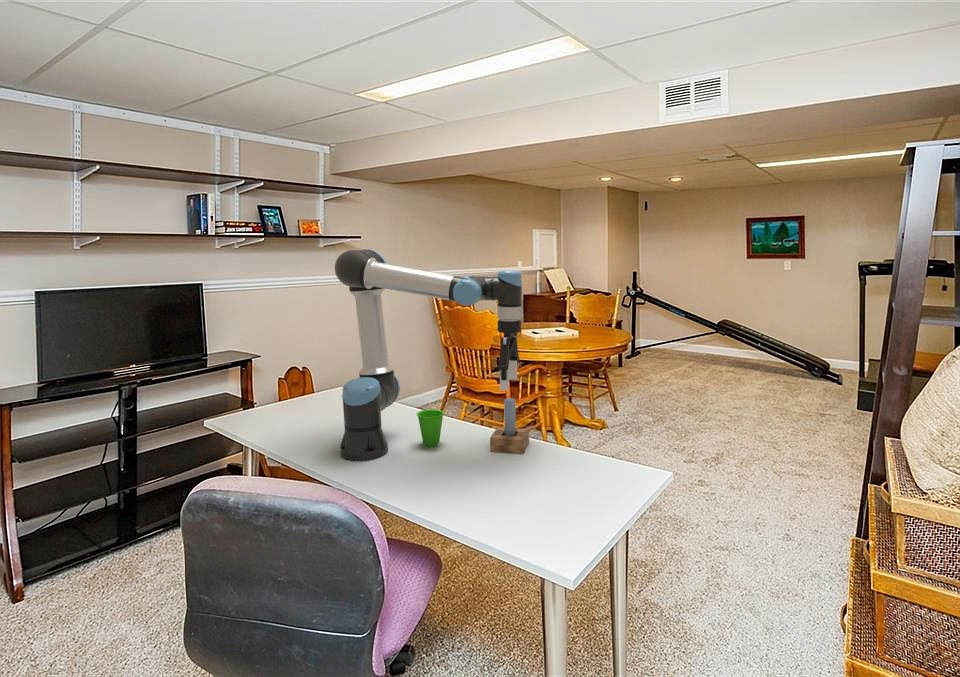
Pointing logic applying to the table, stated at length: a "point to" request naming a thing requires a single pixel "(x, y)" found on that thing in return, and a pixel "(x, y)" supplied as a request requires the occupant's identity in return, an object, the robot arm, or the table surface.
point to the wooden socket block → (509, 441)
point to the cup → (430, 426)
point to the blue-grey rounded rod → (509, 417)
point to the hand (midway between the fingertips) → (508, 384)
